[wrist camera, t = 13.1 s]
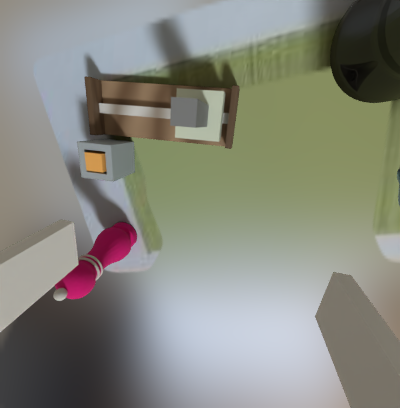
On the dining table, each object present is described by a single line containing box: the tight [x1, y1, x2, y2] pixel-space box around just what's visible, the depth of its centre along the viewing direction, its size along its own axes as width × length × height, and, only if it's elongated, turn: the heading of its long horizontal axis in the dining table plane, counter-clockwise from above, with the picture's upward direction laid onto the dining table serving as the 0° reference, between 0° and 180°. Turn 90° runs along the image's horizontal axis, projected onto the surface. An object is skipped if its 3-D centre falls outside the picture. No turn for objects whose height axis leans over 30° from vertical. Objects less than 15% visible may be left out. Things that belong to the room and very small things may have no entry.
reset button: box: [84, 151, 107, 172], centre depth 38 cm, size 3×3×6 cm
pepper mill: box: [53, 222, 137, 301], centre depth 41 cm, size 7×7×20 cm
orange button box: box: [77, 139, 135, 182], centre depth 40 cm, size 6×6×8 cm
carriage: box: [170, 88, 225, 142], centre depth 30 cm, size 7×7×12 cm
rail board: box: [85, 77, 239, 149], centre depth 37 cm, size 25×9×4 cm, turn 85°
